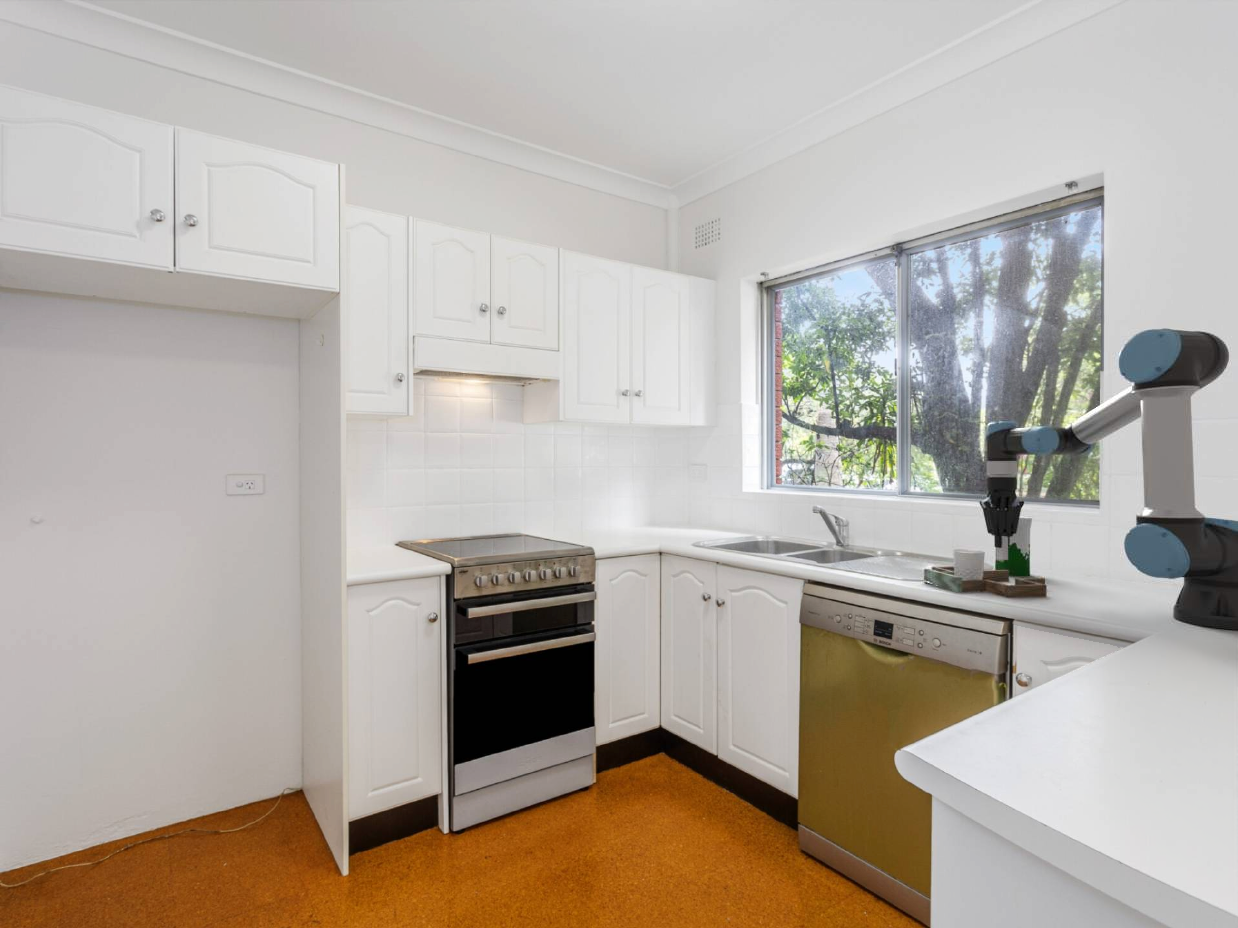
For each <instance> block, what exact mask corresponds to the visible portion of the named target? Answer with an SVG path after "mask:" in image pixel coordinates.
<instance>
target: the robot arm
mask: <svg viewBox="0 0 1238 928" xmlns="http://www.w3.org/2000/svg"><path fill="white" fill-rule="evenodd" d="M1229 360H1230V352H1229V349H1228V347H1227V345H1226V342H1224V340H1222V339H1221V338H1220V337H1218V336H1217V335H1215V334H1213V333H1210V332H1208V331H1207V332H1206V331H1197V330H1195V331H1194V330H1193V331H1192V330H1184V329H1183V330H1181V329H1172V328H1167V327H1166V328H1158V329H1157V328H1155V329H1153V328H1152V329H1147V330H1146V329H1145V330H1143V331H1140V332H1139V333H1138V332H1137V333H1136V334H1135V335H1133V336H1131V337H1130V338H1129V340H1128V341H1127V343H1125V344H1124V345H1123V347H1122V348H1121V349H1120V352H1119V354H1118V359H1117V368H1118V371H1119V373H1120V376H1123V378H1124V379H1125V380H1126V381H1128V382H1130V384H1131V386H1129V387H1127V388H1126V389H1124V390H1122V391H1121V392H1120V393H1117V394H1116V395H1115V396H1112V397H1111V398H1110V399H1108V400H1107V401H1105V402H1103V403H1101V404H1100V405H1098V406H1097V407H1095V408H1094V409H1092V410H1090V411H1089V412H1087V413H1085V414H1084V415H1082V416H1081V417H1078V418H1077V419H1076V420H1074V421H1072V422H1071V423H1069V424H1067V425H1066V426H1063V427H1050V426H1046V425H1045V426H1043V425H1036V426H1029V427H1019V428H1018V426H1017V422H1015V421H994V422H990V423H988V424H987V426H986V436H985V439H986V475H987V478H986V489H987V492H988V493H987V494H986V498H985V499H984V500H979V502H978V503H979V505H980V507H981V509H982V513H983V516H984V522H985V527H986V531H987V533H988V534H991V536H993V537H994V546H993V547H995V560H996V559H1001V560H1008V548H1009V546H1010V537H1012V536H1013V534H1016V532H1017V527H1018V522H1019V517H1020V516H1021V512H1022V508H1024V507H1023V506H1024V505H1025V501H1024V500H1020V499H1019V498H1017V497H1018V496H1017V493H1016V490H1017V489H1018V478H1017V477H1016V476H1017V475H1018V456H1030V455H1032V456H1033V455H1034V456H1056V455H1057V456H1058V455H1059V456H1075V457H1076V456H1081V455H1082V456H1083V455H1088V454H1089V453H1091V452H1092V451H1093V449H1094V448H1095V447H1096V444H1097V443H1098V441H1100V440H1102V439H1105V438H1106V437H1107V436H1108V437H1109V436H1110V435H1111V434H1113V433H1115V432H1117V431H1118V430H1120V429H1122V428H1124V427H1125V426H1127V425H1130V424H1131V423H1132V422H1134V421H1136V420H1138V419H1140V421H1141V427H1140V428H1141V449H1142V453H1141V454H1142V471H1143V472H1142V474H1143V475H1142V476H1143V502H1144V504H1143V505H1144V506H1143V509H1141V510H1140V511H1139V512H1138V513H1137V514H1136V515H1135V516H1136V517H1135V518H1136V520H1135V521H1136V525H1135V526H1134V527H1132V528H1131V529H1129V532H1127V533H1126V535H1125V537H1124V542H1123V546H1124V547H1123V548H1124V552H1125V555H1126V557H1127V559H1128V561H1129V562H1130V564H1131V565H1132V566H1134V567H1135V568H1136V569H1137V570H1138V571H1139V572H1141V573H1142V574H1144V575H1146V576H1147V577H1153V578H1157V579H1158V578H1159V579H1169V580H1176V579H1180V578H1183V584H1182V588H1181V590H1180V592H1179V594H1178V597H1177V598H1176V601H1175V604H1174V605H1173V609H1172V610H1173V615H1172V616H1173V618H1174V619H1176V620H1178V621H1182V622H1184V623H1188V624H1193V625H1198V626H1204V627H1208V628H1217V629H1222V630H1223V629H1225V630H1233V631H1236V630H1237V631H1238V520H1233V519H1224V518H1217V517H1216V518H1215V517H1207V516H1206V517H1205V515H1204V514H1203V513H1201V511H1199V510H1198V509H1197V507H1196V500H1195V497H1196V496H1195V495H1196V494H1195V492H1196V491H1195V473H1194V447H1193V446H1194V445H1193V444H1194V443H1193V421H1192V419H1193V417H1192V396H1193V395H1194V394H1195V393H1196V392H1199V390H1202V389H1203V388H1205V387H1207V386H1208V385H1210V384H1211V383H1212V382H1214V381H1216V380H1217V379H1218V378H1219V377H1220V376H1221V375H1222V374H1223V373H1224V371H1225V370H1226V368H1227V367H1228V363H1229Z"/></svg>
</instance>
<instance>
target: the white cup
mask: <svg viewBox="0 0 1238 928" xmlns="http://www.w3.org/2000/svg"><path fill="white" fill-rule="evenodd" d="M952 554H953V566H954V576H958V577H962V580H982V578H983V570H984V569H985V566H984V565H985V551H984V550H977V549H967V548H964V549H963V548H957V549H953V550H952Z"/></svg>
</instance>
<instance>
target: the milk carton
mask: <svg viewBox="0 0 1238 928" xmlns="http://www.w3.org/2000/svg"><path fill="white" fill-rule="evenodd" d="M1032 521H1033V517H1026V516H1022V515H1020V517H1019V522H1018V527H1017V532H1016V534H1013V536H1012V537H1010V546H1009V548H1008V560H1001V559H996V558H995V561H994V565H995V566H994V570H1009V577H1010V576H1011V577H1014V576H1015V577H1018V576H1019V577H1020V576H1021V577H1023V576H1024V577H1028V576H1029V577H1030V576H1031V559H1030V558H1031V527H1032Z"/></svg>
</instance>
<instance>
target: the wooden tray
mask: <svg viewBox="0 0 1238 928" xmlns="http://www.w3.org/2000/svg"><path fill="white" fill-rule="evenodd" d="M923 575H924V576H923V581H924V580H926V581H929V582H930V583H932V584H934V585H937V586H936V587H938V588H941V587H942V589H945V590H949V591H951V590H952V592H955V593H978V592H979V593H982V592H985V593H986V592H987V593H990V594H993V595H997V596H1001V597H1004V598H1009V599H1012V598H1014V599H1016V598H1037V597H1040V598H1041V597H1047V584H1046V578H1045V577H1027V578H1026V577H1024V578H1023V577H1022V578H1015V579H1014V584H1007V583H1002V582H1007V581H1008V582H1009V581H1010V576H1009V570H995V569H991V570H989V569H987V570H983V578H982V580H962V577H958V576H954V565H951V566H949V565H948V566H932V567H931V568H924V569H923ZM934 585H933V586H934Z"/></svg>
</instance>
